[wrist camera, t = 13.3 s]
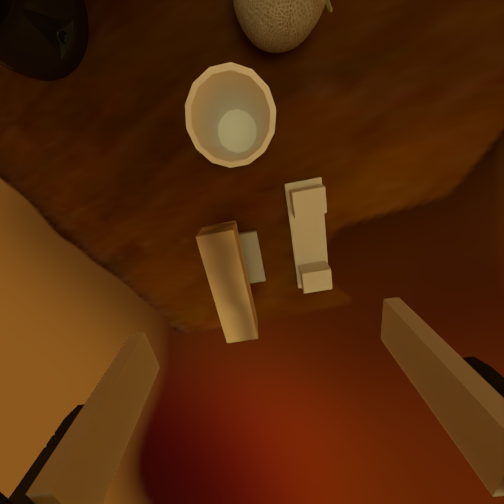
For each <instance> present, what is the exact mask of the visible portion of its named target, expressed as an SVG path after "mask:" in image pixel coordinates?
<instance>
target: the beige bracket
mask: <svg viewBox="0 0 504 504" xmlns="http://www.w3.org/2000/svg"><path fill="white" fill-rule="evenodd" d="M284 188H285V195H286V203H287V210H288V218H289V225H290V233H291V240H292V248H293V255H294V263H295V270H296V278H297V285H298V288H302V289H303V291H304V293H310V292H316V291H322V290H329V289H332V277H331V268H330V267H329V266H328V258H327V244H326V231H325V218H324V213H327V205H326V191H325V186H323V185H322V177H316V178H311V179H306V180H300V181H295V182H290V183H285V184H284Z"/></svg>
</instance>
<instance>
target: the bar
mask: <svg viewBox="0 0 504 504" xmlns="http://www.w3.org/2000/svg"><path fill="white" fill-rule="evenodd" d="M196 240H197V244H198V247H199V250H200V254H201V257H202V261H203V264H204V267H205V271H206V274H207V277H208V281H209V284H210V287H211V291H212V294H213V298H214V301H215V304H216V308H217V311H218V314H219V318H220V321H221V324H222V328H223V331H224V335H225V338H226V341H227V343H231V342H238V341H245V340H251V339H258V322H257V314H256V310H255V305H254V301H253V296H252V292H251V287H250V283H249V278H248V274H247V269H246V265H245V260H244V256H243V251H242V247H241V242H240V238H239V233H238V229H237V224H236V220H234V221H229V222H224V223H218V224H213V225H208V226H203V227H202V228H201V230H200V231H199V233H198V234H197V236H196Z"/></svg>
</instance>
